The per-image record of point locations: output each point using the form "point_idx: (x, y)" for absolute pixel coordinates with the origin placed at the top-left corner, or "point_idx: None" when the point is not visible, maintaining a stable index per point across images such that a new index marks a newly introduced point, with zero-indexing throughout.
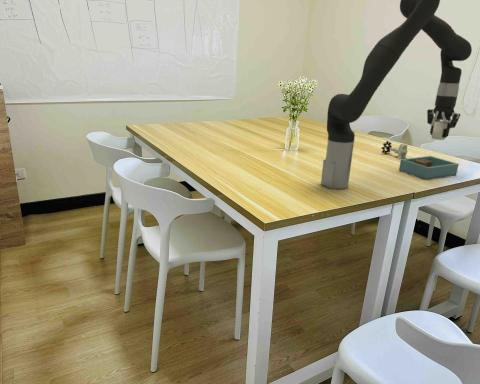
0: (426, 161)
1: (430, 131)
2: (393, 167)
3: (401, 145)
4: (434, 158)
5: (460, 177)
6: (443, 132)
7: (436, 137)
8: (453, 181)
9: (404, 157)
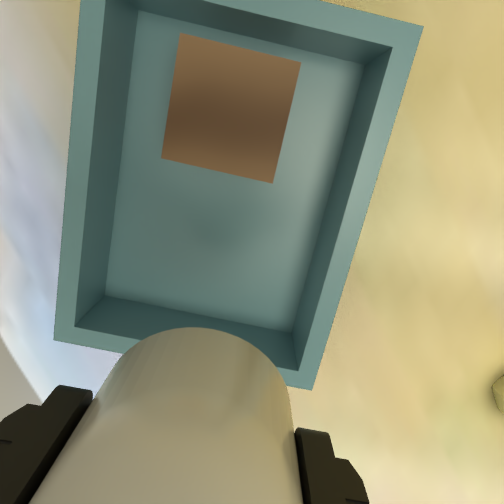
0: (196, 108)
1: (358, 488)
2: (455, 105)
3: None
4: None
5: (53, 281)
6: (31, 453)
7: (170, 344)
8: (17, 148)
9: (502, 391)
